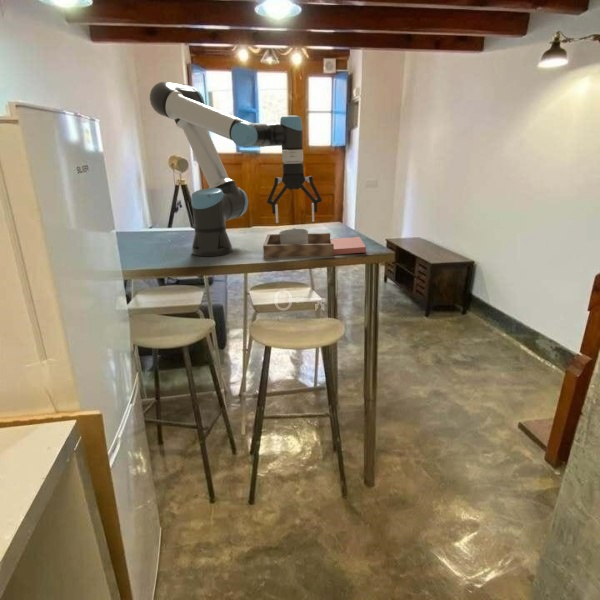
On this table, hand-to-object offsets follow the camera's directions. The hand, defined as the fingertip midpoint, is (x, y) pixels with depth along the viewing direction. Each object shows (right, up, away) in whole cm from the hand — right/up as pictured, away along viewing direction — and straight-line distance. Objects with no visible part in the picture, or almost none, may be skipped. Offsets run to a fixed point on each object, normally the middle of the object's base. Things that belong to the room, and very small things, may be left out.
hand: (295, 222), depth 158 cm
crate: (+1, -10, +4) cm, 11 cm away
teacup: (0, -11, +4) cm, 11 cm away
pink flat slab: (+14, -10, +4) cm, 18 cm away
